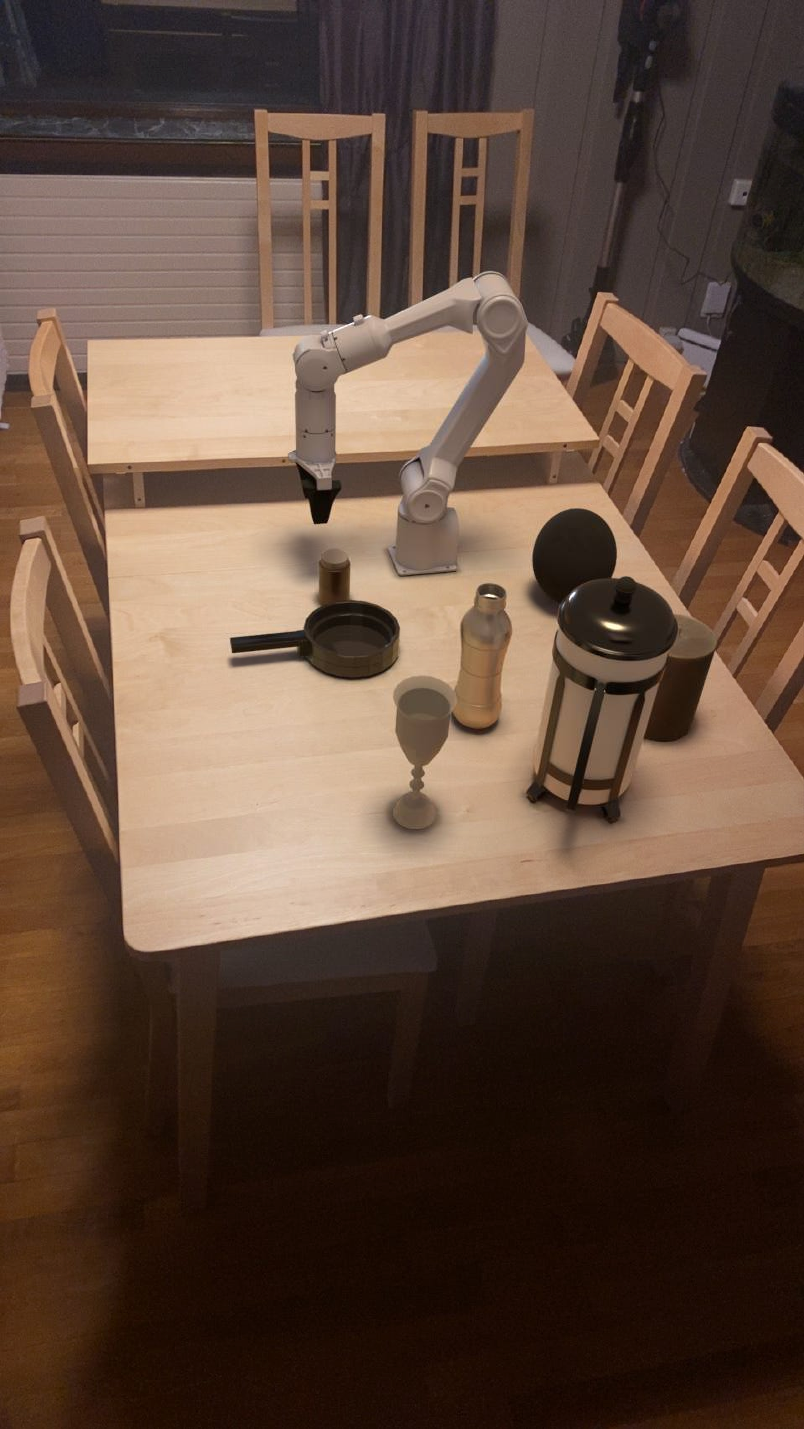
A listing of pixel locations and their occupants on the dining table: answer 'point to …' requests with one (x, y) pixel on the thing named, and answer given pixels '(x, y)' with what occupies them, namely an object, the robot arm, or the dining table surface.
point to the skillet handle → (270, 642)
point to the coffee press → (601, 691)
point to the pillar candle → (682, 680)
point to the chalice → (420, 740)
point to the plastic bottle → (482, 658)
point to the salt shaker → (334, 576)
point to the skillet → (352, 638)
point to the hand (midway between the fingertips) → (315, 509)
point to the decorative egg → (573, 552)
